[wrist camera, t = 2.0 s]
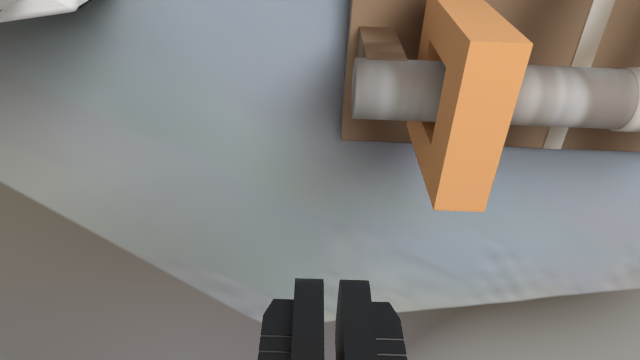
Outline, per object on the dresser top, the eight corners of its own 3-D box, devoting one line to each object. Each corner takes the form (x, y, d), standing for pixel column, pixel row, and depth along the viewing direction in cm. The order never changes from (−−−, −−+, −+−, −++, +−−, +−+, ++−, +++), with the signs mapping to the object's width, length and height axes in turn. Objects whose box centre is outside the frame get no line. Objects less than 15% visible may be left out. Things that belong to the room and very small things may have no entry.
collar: (474, -9, 26) (533, 43, 18) (445, 127, 30) (484, 211, 23) (428, -11, 25) (470, 41, 18) (406, 125, 30) (433, 210, 23)
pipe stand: (747, -46, 27) (899, -10, 20) (655, 141, 34) (745, 218, 27) (355, -65, 27) (369, -36, 20) (340, 129, 33) (346, 204, 26)
